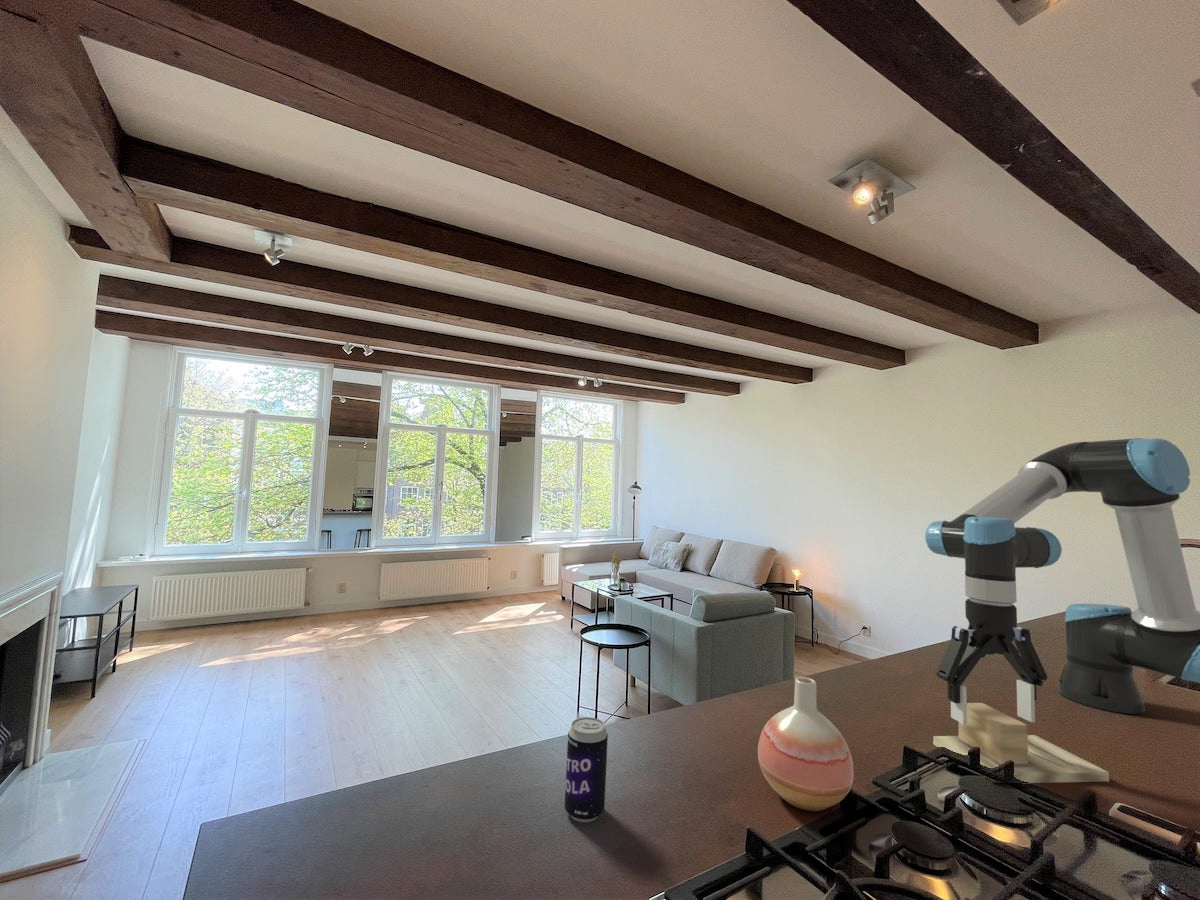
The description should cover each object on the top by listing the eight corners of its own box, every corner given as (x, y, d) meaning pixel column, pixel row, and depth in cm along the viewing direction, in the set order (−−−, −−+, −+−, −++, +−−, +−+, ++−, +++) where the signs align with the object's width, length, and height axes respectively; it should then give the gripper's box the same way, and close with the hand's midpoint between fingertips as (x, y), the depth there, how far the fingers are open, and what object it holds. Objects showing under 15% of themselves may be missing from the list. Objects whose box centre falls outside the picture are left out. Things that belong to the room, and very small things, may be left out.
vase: (875, 821, 73) (876, 695, 74) (794, 834, 69) (797, 701, 70) (810, 769, 86) (812, 662, 87) (739, 778, 82) (742, 666, 83)
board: (1035, 742, 100) (1035, 735, 100) (1109, 781, 87) (1108, 772, 87) (933, 744, 97) (933, 736, 97) (993, 783, 84) (993, 774, 84)
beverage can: (563, 800, 74) (568, 715, 75) (602, 800, 75) (606, 716, 75) (564, 826, 68) (569, 734, 69) (606, 826, 69) (610, 734, 70)
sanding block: (958, 741, 96) (958, 702, 96) (982, 740, 96) (982, 702, 97) (1001, 767, 87) (1001, 725, 87) (1027, 767, 87) (1027, 725, 88)
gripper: (1030, 596, 99) (1033, 709, 97) (913, 596, 96) (914, 712, 94) (1070, 606, 91) (1074, 727, 90) (945, 605, 88) (947, 731, 87)
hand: (992, 720), depth 92 cm, fingers open, 13 cm apart
